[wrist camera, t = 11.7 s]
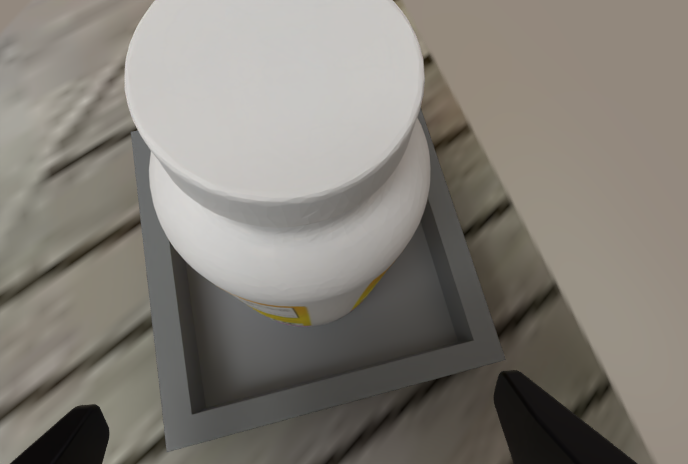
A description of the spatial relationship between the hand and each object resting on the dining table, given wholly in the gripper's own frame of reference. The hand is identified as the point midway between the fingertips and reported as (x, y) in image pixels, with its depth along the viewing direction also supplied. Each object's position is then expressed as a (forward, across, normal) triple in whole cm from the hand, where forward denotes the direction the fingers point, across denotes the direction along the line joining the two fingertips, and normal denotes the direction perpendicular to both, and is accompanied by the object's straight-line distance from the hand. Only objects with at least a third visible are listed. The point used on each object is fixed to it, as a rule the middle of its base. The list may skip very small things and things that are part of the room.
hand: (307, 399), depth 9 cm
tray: (+10, 0, +2) cm, 10 cm away
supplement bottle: (+10, 0, +2) cm, 10 cm away
